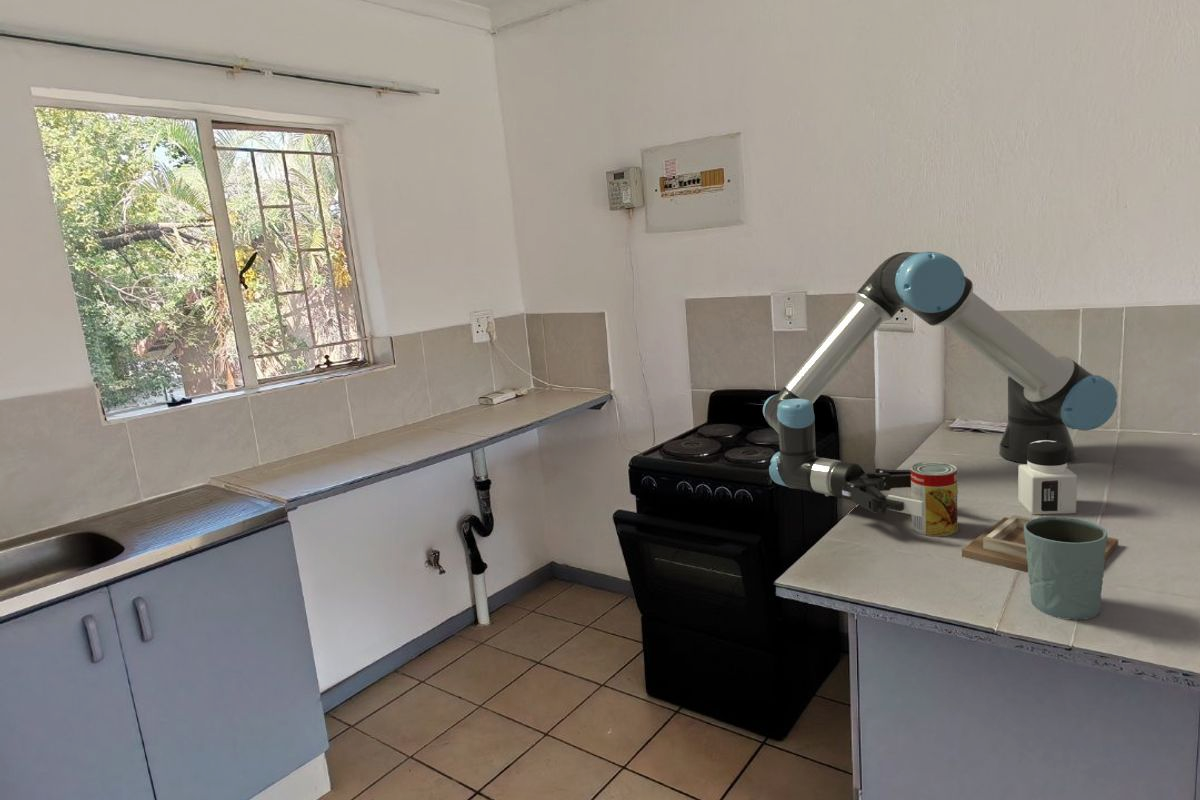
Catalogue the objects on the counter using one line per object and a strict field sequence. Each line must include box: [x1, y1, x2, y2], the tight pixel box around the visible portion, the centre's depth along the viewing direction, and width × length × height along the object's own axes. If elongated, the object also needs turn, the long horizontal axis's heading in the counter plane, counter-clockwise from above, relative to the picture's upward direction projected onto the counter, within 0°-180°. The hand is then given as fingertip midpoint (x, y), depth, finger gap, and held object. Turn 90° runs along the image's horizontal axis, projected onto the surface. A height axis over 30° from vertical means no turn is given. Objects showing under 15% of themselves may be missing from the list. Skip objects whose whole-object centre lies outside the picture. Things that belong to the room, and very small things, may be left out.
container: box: [1017, 440, 1078, 515], centre depth 141 cm, size 8×8×13 cm
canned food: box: [910, 461, 958, 537], centre depth 138 cm, size 8×8×12 cm
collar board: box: [961, 514, 1119, 573], centre depth 125 cm, size 18×18×3 cm
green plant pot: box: [1024, 516, 1108, 620], centre depth 107 cm, size 10×10×12 cm
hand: (940, 498), depth 136 cm, fingers open, 13 cm apart
